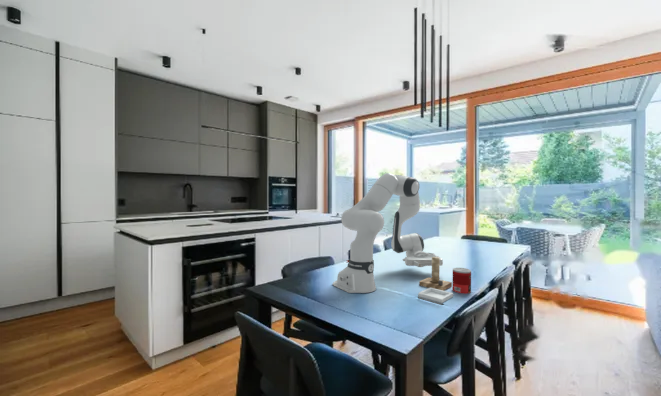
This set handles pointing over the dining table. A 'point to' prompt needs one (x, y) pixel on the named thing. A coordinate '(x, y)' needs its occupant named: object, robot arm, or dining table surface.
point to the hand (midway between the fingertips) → (428, 264)
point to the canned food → (462, 280)
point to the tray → (435, 295)
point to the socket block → (441, 284)
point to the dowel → (435, 269)
